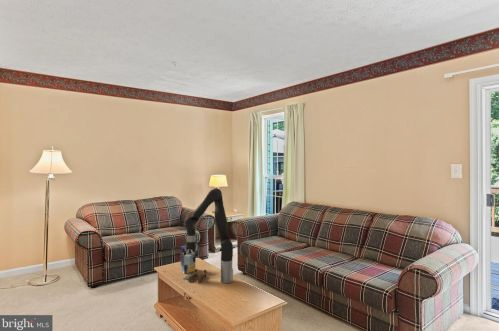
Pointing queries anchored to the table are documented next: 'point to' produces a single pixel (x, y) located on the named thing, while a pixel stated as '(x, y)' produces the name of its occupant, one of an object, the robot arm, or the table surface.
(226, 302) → the table surface
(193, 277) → the rack
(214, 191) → the robot arm
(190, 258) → the block
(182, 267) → the beverage box
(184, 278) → the pad
